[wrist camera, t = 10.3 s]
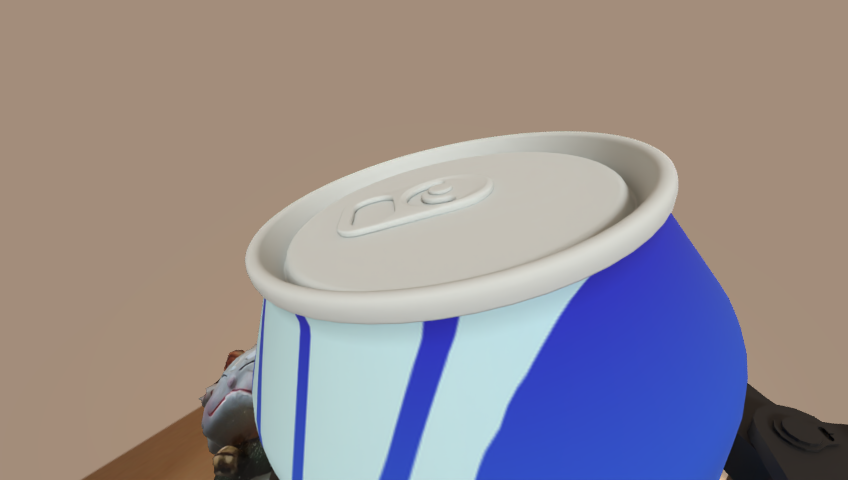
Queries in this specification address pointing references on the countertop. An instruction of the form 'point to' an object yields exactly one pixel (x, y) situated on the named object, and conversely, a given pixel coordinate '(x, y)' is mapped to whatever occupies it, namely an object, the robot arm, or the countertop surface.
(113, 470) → the countertop surface
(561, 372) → the beer can
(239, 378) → the lucky cat figurine
